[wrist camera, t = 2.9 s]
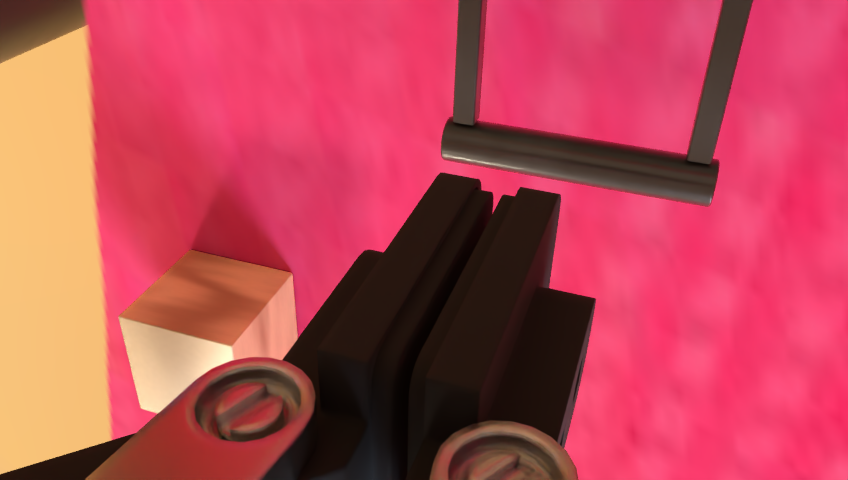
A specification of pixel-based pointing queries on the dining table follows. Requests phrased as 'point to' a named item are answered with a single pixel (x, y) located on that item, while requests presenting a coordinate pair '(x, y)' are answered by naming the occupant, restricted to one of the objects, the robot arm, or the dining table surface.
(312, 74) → the dining table surface
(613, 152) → the drawer
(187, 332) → the block
